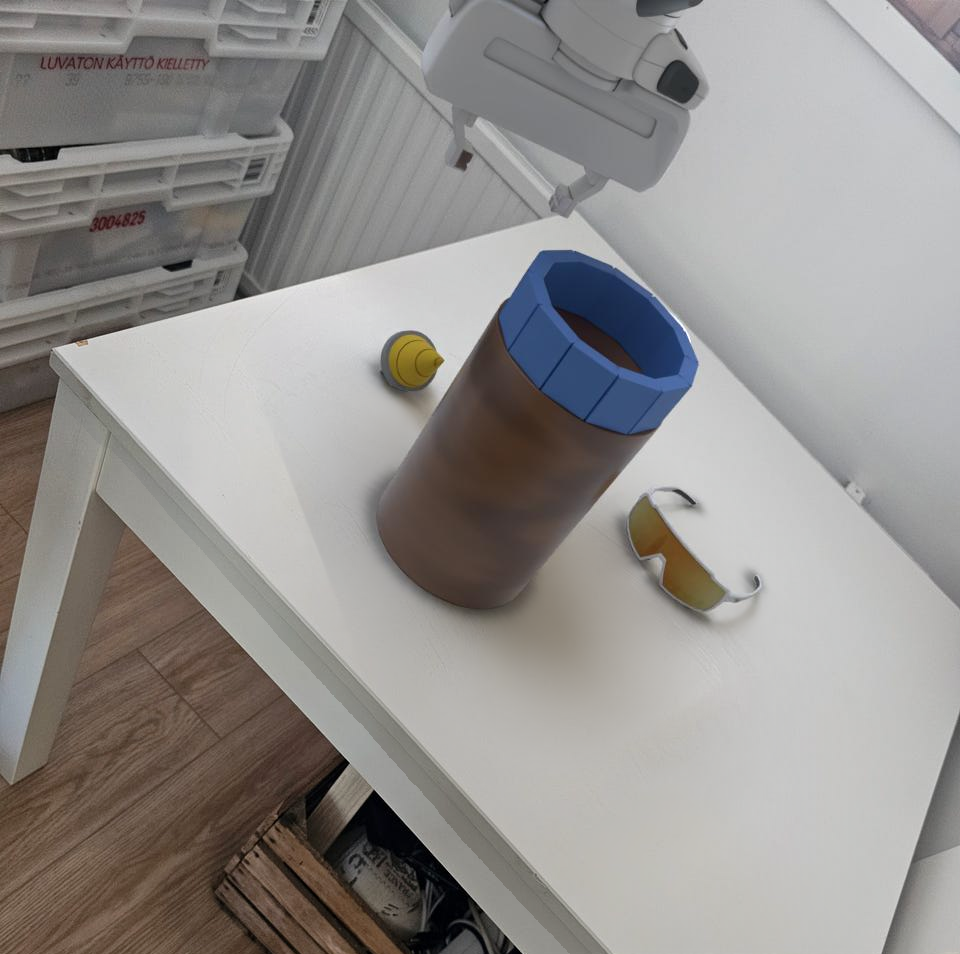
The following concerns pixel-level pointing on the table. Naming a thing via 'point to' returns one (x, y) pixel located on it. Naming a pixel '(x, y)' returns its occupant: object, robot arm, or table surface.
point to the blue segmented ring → (579, 368)
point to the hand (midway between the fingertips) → (506, 188)
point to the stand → (499, 476)
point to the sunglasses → (676, 556)
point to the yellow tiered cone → (409, 361)
